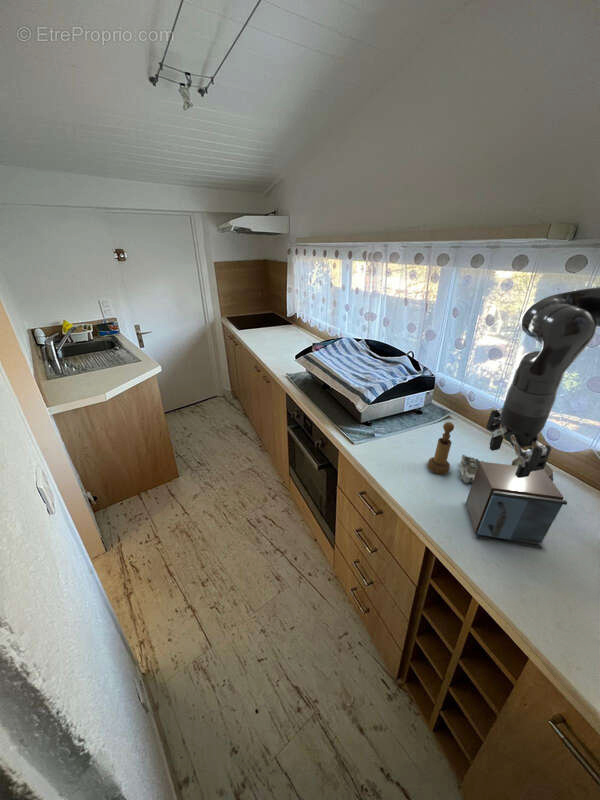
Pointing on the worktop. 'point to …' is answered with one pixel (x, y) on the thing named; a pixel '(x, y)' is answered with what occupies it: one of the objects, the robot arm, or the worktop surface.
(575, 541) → the worktop surface
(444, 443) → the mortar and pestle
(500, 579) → the worktop surface
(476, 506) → the cupboard
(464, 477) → the grey lumpy piece
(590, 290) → the robot arm
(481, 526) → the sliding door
